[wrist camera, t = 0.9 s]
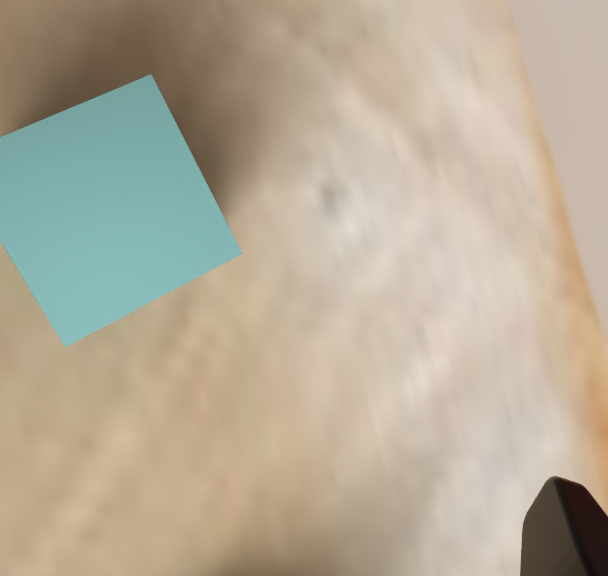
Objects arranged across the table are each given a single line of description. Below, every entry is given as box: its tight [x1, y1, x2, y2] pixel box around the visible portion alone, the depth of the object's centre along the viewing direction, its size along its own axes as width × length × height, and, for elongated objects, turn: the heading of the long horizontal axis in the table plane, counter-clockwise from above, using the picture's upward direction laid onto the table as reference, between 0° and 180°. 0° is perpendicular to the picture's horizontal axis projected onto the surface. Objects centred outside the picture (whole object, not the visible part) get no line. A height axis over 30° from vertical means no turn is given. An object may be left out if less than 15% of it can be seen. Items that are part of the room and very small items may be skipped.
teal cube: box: [0, 75, 242, 347], centre depth 19 cm, size 6×6×6 cm
